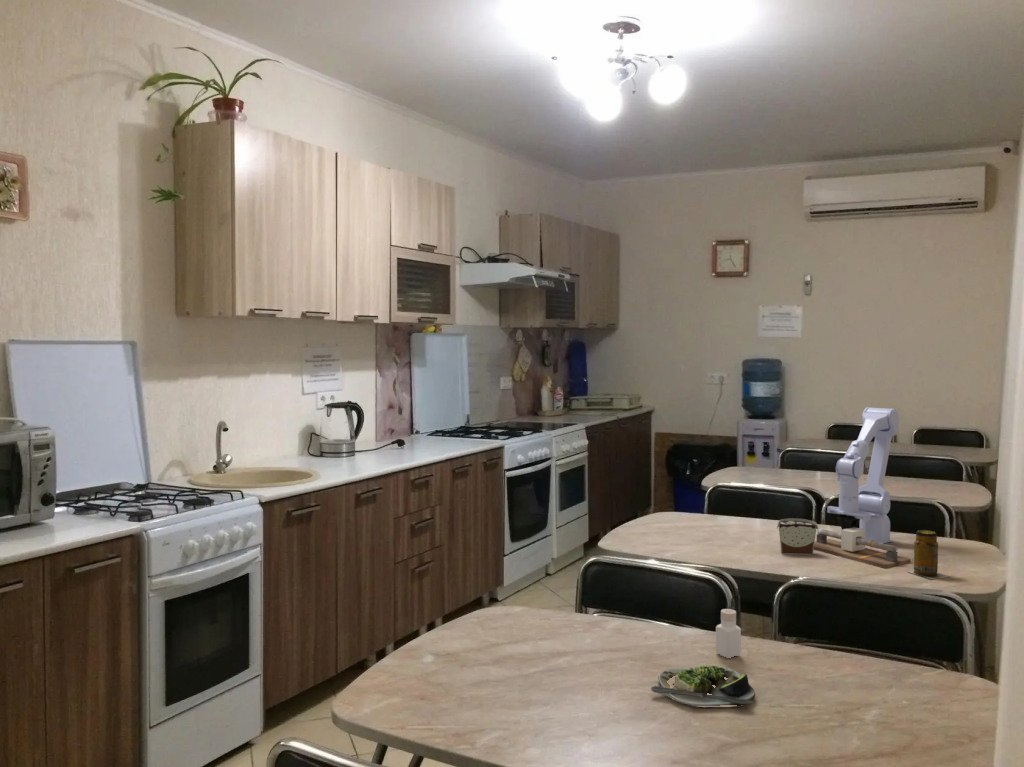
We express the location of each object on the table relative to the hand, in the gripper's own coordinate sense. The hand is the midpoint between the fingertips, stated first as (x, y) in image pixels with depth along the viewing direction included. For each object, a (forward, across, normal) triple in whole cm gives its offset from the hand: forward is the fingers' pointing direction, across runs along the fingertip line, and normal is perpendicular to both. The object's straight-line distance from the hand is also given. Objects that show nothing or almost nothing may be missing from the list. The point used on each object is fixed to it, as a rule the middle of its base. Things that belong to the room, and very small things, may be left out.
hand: (848, 539), depth 259 cm
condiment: (+4, +29, -4) cm, 30 cm away
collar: (+2, +4, -3) cm, 5 cm away
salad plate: (+4, +55, -110) cm, 123 cm away
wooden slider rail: (+3, +5, -3) cm, 6 cm away
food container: (+4, -7, -16) cm, 18 cm away
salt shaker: (+4, +44, -94) cm, 104 cm away
